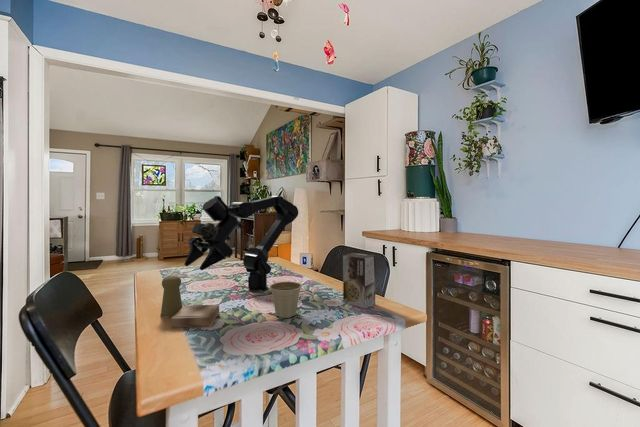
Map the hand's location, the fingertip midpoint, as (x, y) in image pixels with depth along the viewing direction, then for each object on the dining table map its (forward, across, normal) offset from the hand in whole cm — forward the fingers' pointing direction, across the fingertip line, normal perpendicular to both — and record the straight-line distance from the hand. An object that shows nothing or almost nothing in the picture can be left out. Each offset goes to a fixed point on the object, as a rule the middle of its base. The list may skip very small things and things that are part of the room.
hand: (192, 267), depth 95 cm
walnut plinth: (+12, +11, +6) cm, 17 cm away
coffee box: (-17, +39, +35) cm, 55 cm away
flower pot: (-1, +27, +19) cm, 33 cm away
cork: (+14, 0, +4) cm, 14 cm away
